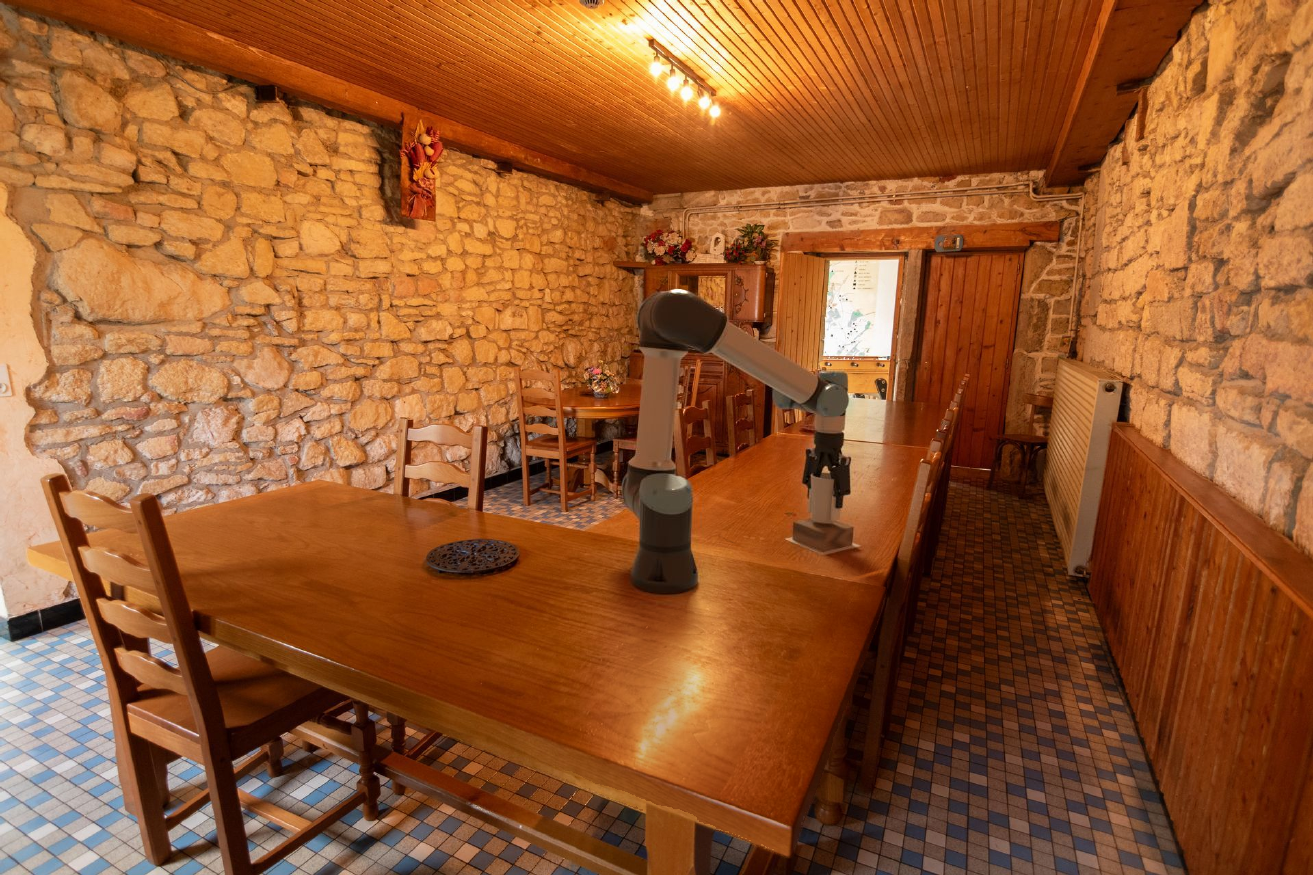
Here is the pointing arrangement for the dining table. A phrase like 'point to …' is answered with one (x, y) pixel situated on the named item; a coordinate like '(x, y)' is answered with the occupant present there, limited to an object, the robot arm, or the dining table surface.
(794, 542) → the mat
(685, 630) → the dining table surface
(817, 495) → the cup
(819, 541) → the base block
